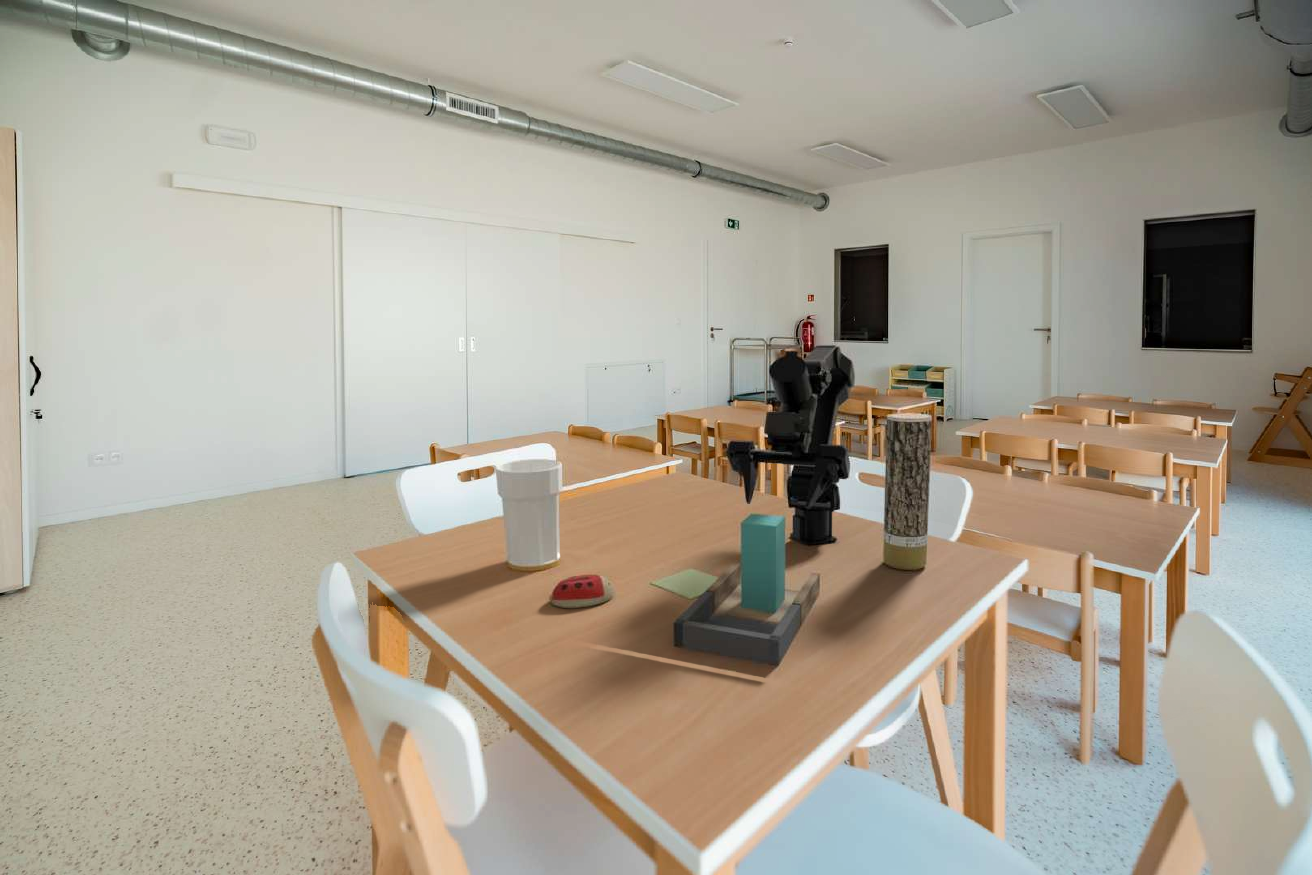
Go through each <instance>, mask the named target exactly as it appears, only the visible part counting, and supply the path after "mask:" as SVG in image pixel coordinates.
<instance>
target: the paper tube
mask: <svg viewBox="0 0 1312 875" xmlns="http://www.w3.org/2000/svg"><path fill="white" fill-rule="evenodd" d="M932 423H933V419H932V415H931V414H925V413H913V412H904V413H903V412H902V413H901V412H899V413H890V414H887V417H886V434H885V435H886V440H885V441H886V442H885V469H884V470H885V471H884V472H885V473H884V474H885V475H884V476H885V478H884V506H883V507H884V510H883V512H884V513H883V514H884V515H883V548H882V549H883V550H882V552H883V553H882V555H883V557H882V559H883V562H884V564H885V565H887V566H888V567H890V568H893V569H897V570H903V571H915V570H920V569H923V568H924V567H925V566H926V564H927V554H928V553H927V552H928V551H927V550H928V534H929V533H928V530H929V528H928V527H929V505H930V504H929V503H930V480H931V479H930V478H931V456H932V455H931V452H932V451H931V450H932V427H933V424H932Z"/></svg>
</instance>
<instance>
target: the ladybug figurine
mask: <svg viewBox="0 0 1312 875" xmlns="http://www.w3.org/2000/svg"><path fill="white" fill-rule="evenodd" d="M614 594H615V591H614V588H613V585H612V583H611V582H610V581H609V580H608V578H606V577H605V576H603V575H600V574H581V575H575V576H570V577H568V578H565V579H563V580H560V581H559V583H557V585H555V587H554V589H553V590H552V593H551V594H550V595H549V597H548V600H549V602H551V604H552V605H554V606H556V607H558V608H563V609H579V608H581V607H583V608H589V607H594V606H597V605H600V604H603V603H607V602H608V601H610V600H612V598H613V597H614V596H615V595H614ZM581 609H582V608H581Z"/></svg>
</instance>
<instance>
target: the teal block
mask: <svg viewBox="0 0 1312 875" xmlns="http://www.w3.org/2000/svg"><path fill="white" fill-rule="evenodd" d="M740 564H741V608H748V609H754V610H761V611H767V612H774V613H776V612H777V610H778V609H779V608H780V606H781V605H782V603H783V602H784V600H785V589H786V516H783V515H782V516H780V515H773V514H772V515H771V514H763V513H762V514H761V513H759V514H758V513H750V514H749V515H747V517H746V518H744V519H743V520H742V521H741V522H740Z"/></svg>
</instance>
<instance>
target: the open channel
mask: <svg viewBox="0 0 1312 875" xmlns="http://www.w3.org/2000/svg"><path fill="white" fill-rule="evenodd" d="M820 575H821V574H820V573H817V572H811V573H810V574H809V576H808V578H807V579H806V580H805V582H804V584H803V585H802V587H801V588H800V590H797V589H796V590H795V589H788V588H785V600H784V602H783V603H782V605H781V606H780V608H779V609H778V610H777V612H776V613H774V612H767V611H761V610H754V609H748V608H741V563H739V562H738V563H737V562H733V563H732V564H730V566H728V568H727V569H725V571H724V572H722V574H720V575H719V577H718V579H717V580H716V581H715V582H714V583H713V584H712V585H711V586H710V587H709V588H708V589H707V590H706V592H713V614H719V615H725V616H732V617H738V618H744V619H750V620H756V621H763V622H769V623H775V624H779V622H780V621H781V619H782V618H783V616H784V615H785V613H786V612H787V610H788V609H789V607H790V605H791V604H794V605H800V628H802V625H803V624H804V622H805V620H806V618H808V615H809V613H810V612H811V610H812V608H813V606H814V605H815V603H816V601H817V600H818V598H819V596H820V590H821V589H820V588H821V587H820V583H821V582H820V581H821V580H820V579H821V576H820Z"/></svg>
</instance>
